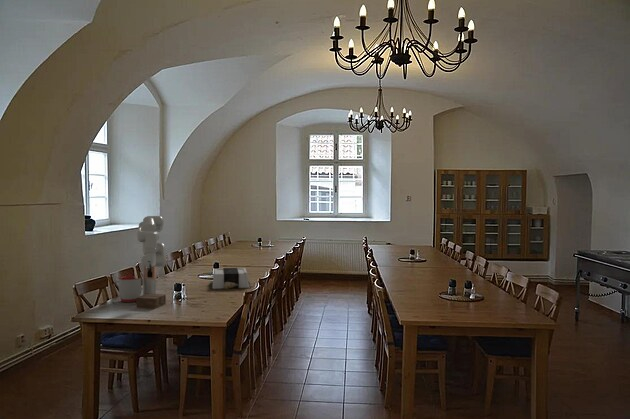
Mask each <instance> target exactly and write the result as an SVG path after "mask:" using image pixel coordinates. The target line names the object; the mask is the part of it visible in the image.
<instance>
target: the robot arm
mask: <svg viewBox="0 0 630 419" xmlns="http://www.w3.org/2000/svg"><path fill="white" fill-rule="evenodd" d="M163 228H164V219H163V217H162V216H160V215H147V216H144V218H143V220H142V221H140V222H139V224H138V228H137V229H138V230H137V232H136V234H137V235H136V236H137V241H138V242H139V243H142V252H143V254H144V256H141V259H140V260H141V262H140V263H141V270H142V271H141V272H142V295H145V294H157V278H156V279H146V267H147V277H152V267H154V266H157V269H158V268H165V267H166V266H167V265H166V264H167V255H166V246H165V244H164V243H163V242H158V241H159V239H160V234H159V232H162V231H163ZM150 266H151V267H150Z"/></svg>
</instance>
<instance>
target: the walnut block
mask: <svg viewBox="0 0 630 419" xmlns="http://www.w3.org/2000/svg"><path fill="white" fill-rule="evenodd" d="M166 295H167V294H161V293H156V294H145V295H143V294H142V295H140V297H137V298H136V301H135V302H136V304H135V305H136V308H137V309H138V308H139V309H151V310H152V309H153V310H157V309H158V308H160V307H162V306H165V305H166V304H167V303H166Z"/></svg>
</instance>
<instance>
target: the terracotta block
mask: <svg viewBox="0 0 630 419" xmlns="http://www.w3.org/2000/svg"><path fill="white" fill-rule="evenodd" d="M150 267H151V266H150ZM157 270H158V268H157V266H154V267H152V277H147V267H146V279H156V280H157V277H158V275H157Z"/></svg>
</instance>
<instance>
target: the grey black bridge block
mask: <svg viewBox="0 0 630 419" xmlns="http://www.w3.org/2000/svg"><path fill="white" fill-rule="evenodd" d="M209 282H210V286H209V288H210V290H239V289H244V290H245V289H252V285H251V283H250V281H249V275H248V271H247V268H245V267H224V268H214V269H213V276H212V281H209Z"/></svg>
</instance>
